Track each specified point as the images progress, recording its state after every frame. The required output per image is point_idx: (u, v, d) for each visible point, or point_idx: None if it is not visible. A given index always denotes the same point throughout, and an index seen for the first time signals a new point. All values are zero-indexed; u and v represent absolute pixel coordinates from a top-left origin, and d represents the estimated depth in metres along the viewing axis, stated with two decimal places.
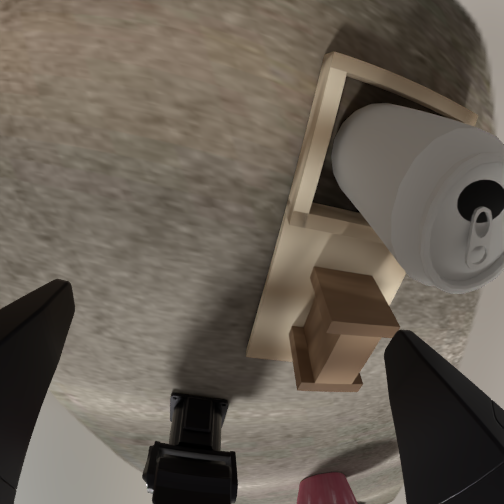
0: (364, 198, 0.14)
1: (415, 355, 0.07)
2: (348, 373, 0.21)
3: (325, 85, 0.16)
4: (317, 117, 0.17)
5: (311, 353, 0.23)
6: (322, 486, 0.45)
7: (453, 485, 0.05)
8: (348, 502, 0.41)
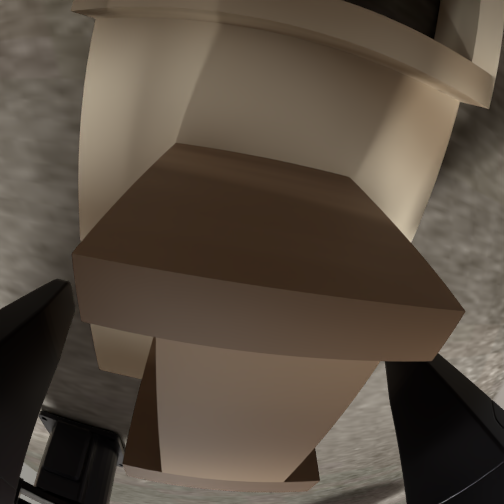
0: None
1: None
2: (262, 465, 0.06)
3: None
4: None
5: None
6: None
7: (452, 486, 0.05)
8: None
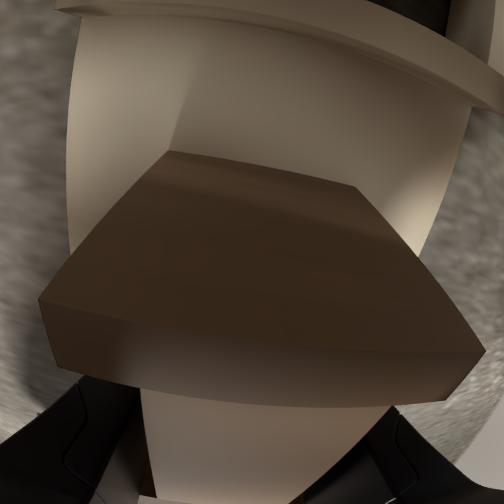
0: None
1: None
2: (260, 495, 0.05)
3: None
4: None
5: None
6: None
7: None
8: None
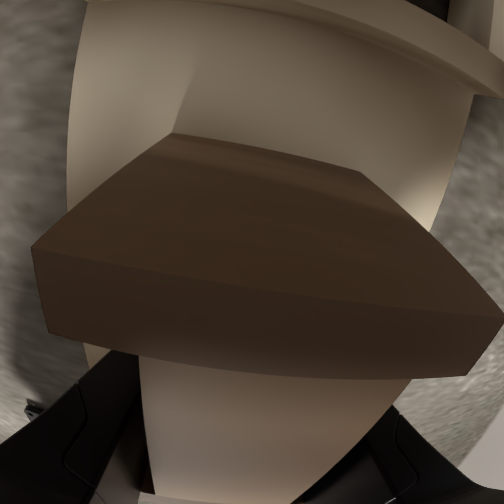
0: None
1: None
2: (266, 490, 0.05)
3: None
4: None
5: None
6: None
7: None
8: None
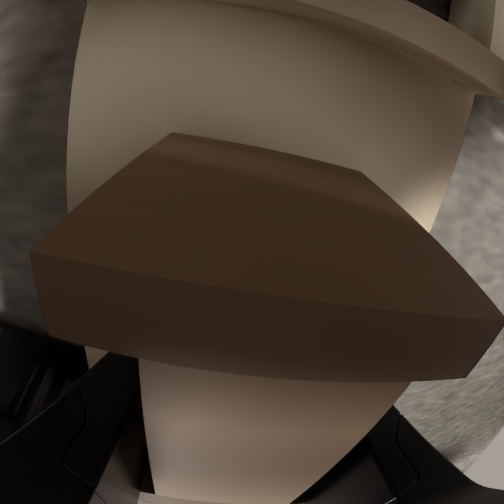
0: None
1: None
2: (266, 490, 0.05)
3: None
4: None
5: None
6: None
7: None
8: None
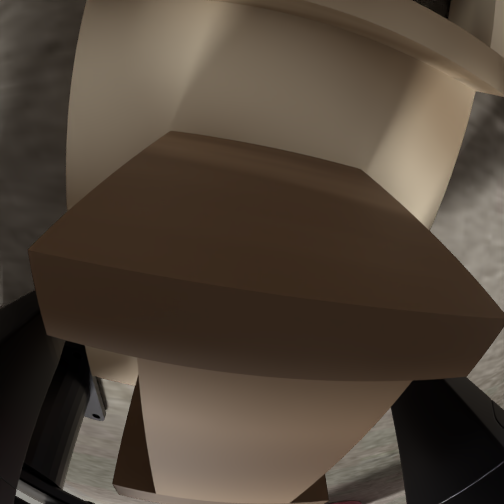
0: None
1: None
2: (267, 489, 0.05)
3: None
4: None
5: None
6: None
7: (453, 486, 0.05)
8: None
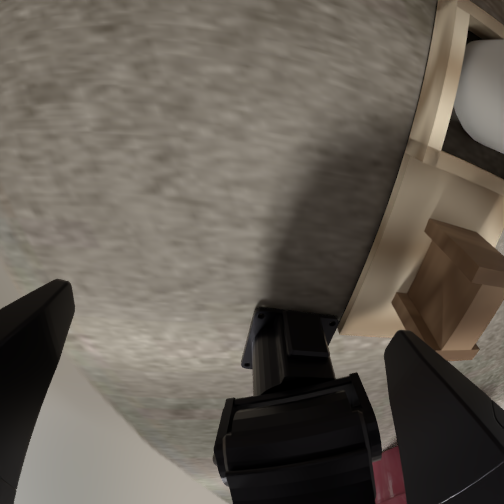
0: None
1: (415, 355, 0.07)
2: (473, 335, 0.16)
3: (453, 22, 0.11)
4: (448, 51, 0.12)
5: (429, 318, 0.18)
6: None
7: (453, 486, 0.05)
8: None
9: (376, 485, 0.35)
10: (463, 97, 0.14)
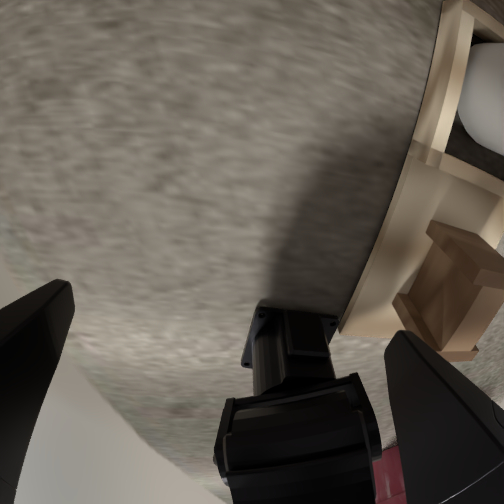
0: None
1: (415, 355, 0.07)
2: (473, 337, 0.16)
3: (458, 25, 0.11)
4: (453, 53, 0.12)
5: (429, 319, 0.18)
6: None
7: (453, 486, 0.05)
8: None
9: None
10: (466, 100, 0.14)
